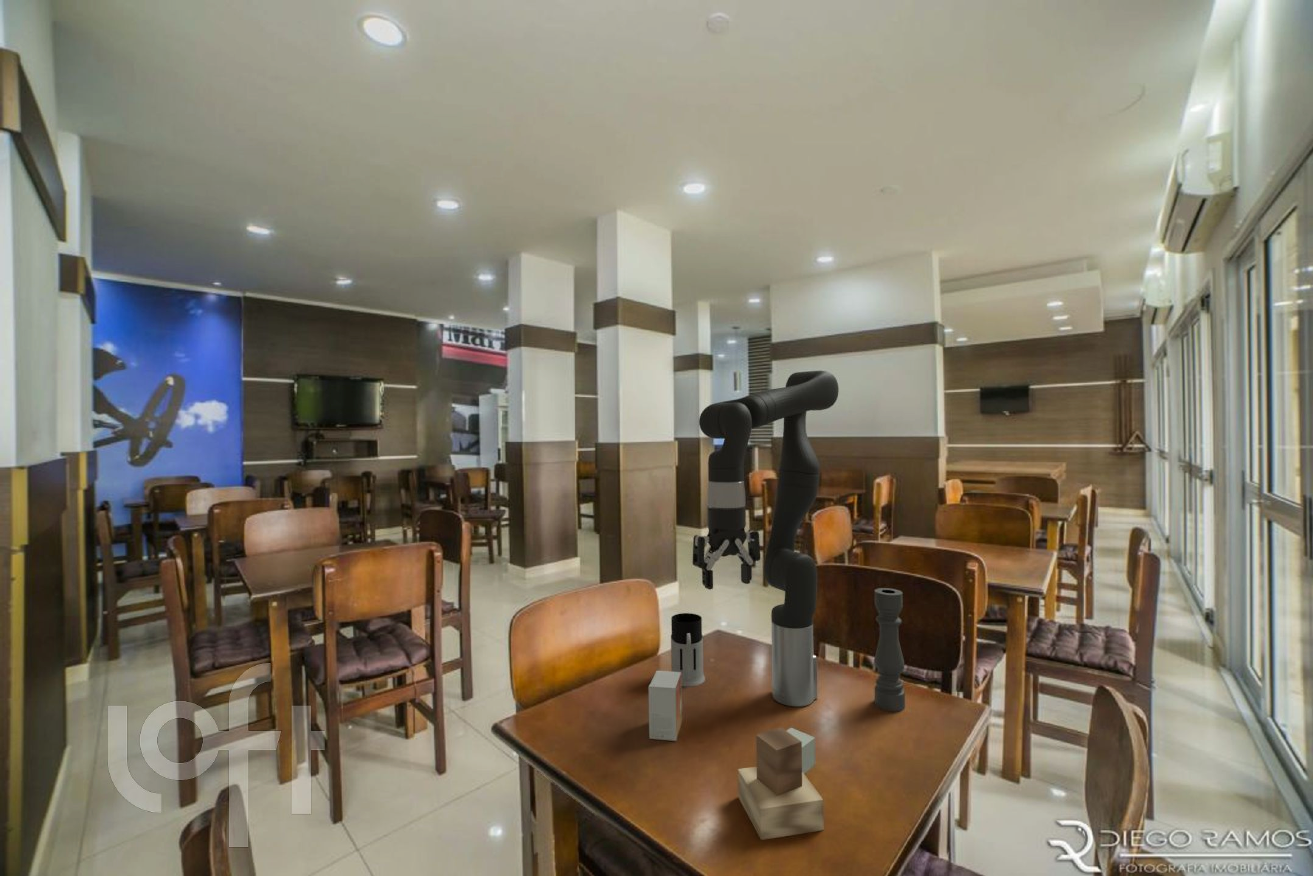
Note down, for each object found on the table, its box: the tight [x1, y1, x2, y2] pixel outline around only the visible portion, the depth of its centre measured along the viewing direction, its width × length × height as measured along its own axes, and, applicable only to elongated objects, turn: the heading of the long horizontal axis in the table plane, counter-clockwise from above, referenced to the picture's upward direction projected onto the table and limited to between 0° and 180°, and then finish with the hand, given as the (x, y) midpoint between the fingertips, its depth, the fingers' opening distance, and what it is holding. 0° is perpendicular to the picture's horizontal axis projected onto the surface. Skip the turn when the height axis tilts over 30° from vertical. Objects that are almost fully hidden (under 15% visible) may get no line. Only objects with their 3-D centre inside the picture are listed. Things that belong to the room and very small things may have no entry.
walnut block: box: [755, 727, 802, 796], centre depth 88 cm, size 5×5×7 cm
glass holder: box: [670, 612, 706, 687], centre depth 134 cm, size 9×14×15 cm, turn 1°
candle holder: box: [873, 587, 906, 712], centre depth 123 cm, size 6×6×25 cm
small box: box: [648, 670, 683, 742], centre depth 113 cm, size 8×6×10 cm
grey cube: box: [786, 727, 816, 775], centre depth 101 cm, size 5×5×5 cm
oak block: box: [737, 766, 825, 841], centre depth 88 cm, size 10×10×5 cm
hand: (727, 585), depth 110 cm, fingers open, 8 cm apart
